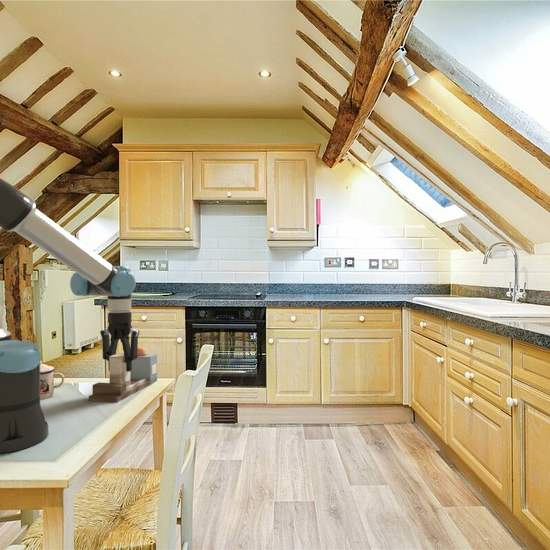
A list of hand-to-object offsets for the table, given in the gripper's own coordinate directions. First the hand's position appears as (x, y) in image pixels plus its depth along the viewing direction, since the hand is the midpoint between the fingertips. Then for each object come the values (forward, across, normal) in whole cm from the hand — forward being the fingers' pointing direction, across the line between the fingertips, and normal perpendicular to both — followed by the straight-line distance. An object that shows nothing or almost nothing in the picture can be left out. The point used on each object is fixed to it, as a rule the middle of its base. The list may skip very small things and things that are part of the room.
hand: (120, 380), depth 136 cm
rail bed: (+4, 0, -3) cm, 5 cm away
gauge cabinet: (+4, 0, -14) cm, 14 cm away
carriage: (+2, 0, 0) cm, 2 cm away
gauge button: (-4, 0, -14) cm, 14 cm away
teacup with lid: (+4, +23, +8) cm, 25 cm away
